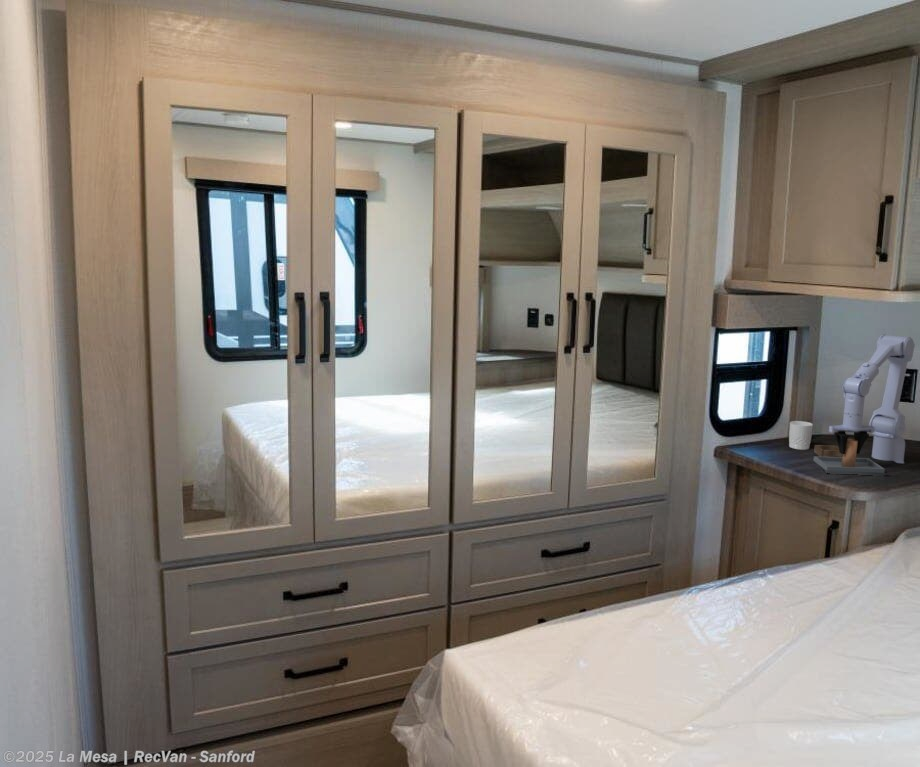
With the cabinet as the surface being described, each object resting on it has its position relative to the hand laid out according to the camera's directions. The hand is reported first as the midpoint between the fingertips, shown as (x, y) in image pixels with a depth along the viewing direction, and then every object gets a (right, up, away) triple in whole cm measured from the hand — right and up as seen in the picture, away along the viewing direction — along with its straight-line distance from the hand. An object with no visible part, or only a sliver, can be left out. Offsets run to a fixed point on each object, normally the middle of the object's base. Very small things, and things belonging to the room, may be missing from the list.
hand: (849, 453), depth 256 cm
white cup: (-5, -1, +26) cm, 27 cm away
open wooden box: (+1, -3, +16) cm, 16 cm away
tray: (0, -6, +1) cm, 6 cm away
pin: (0, -4, +1) cm, 4 cm away
